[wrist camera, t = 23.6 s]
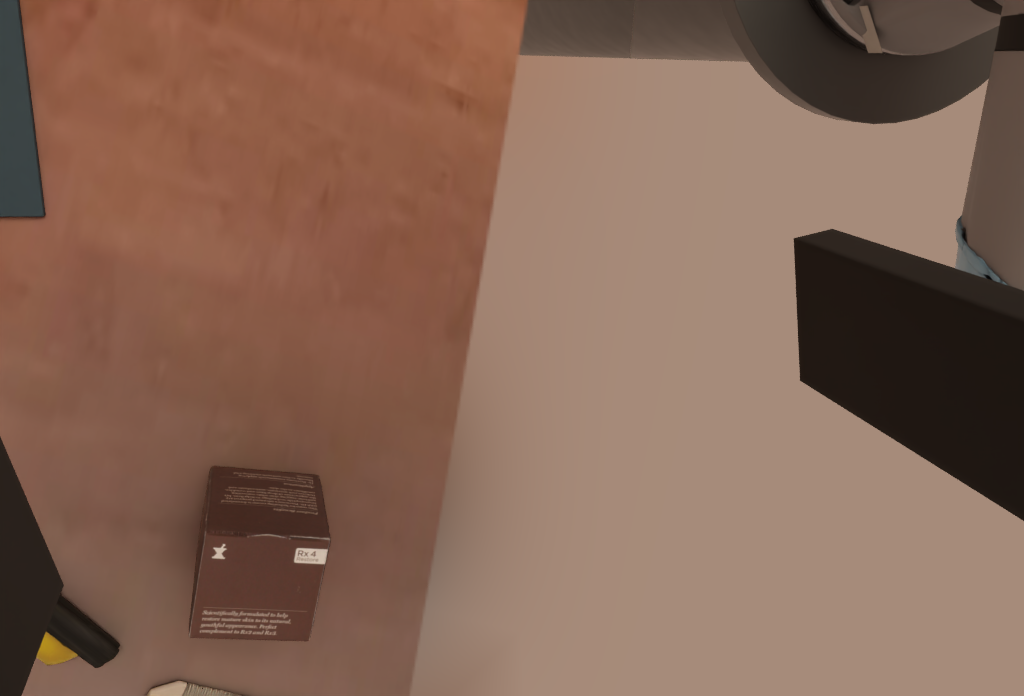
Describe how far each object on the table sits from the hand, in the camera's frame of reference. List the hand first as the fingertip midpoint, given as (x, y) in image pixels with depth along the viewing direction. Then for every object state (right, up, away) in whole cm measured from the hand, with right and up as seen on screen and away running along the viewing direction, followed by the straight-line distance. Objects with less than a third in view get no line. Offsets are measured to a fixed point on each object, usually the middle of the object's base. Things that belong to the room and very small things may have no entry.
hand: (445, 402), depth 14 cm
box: (-13, -9, +35) cm, 38 cm away
